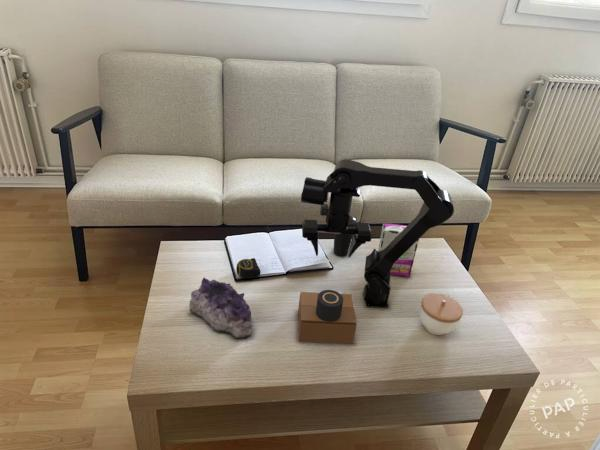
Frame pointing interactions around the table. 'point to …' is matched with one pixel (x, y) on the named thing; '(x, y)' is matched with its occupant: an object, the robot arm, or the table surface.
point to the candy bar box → (406, 260)
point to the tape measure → (248, 268)
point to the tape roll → (329, 305)
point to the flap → (311, 297)
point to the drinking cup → (344, 239)
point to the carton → (326, 326)
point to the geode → (222, 308)
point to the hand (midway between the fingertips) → (332, 255)
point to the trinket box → (440, 313)
